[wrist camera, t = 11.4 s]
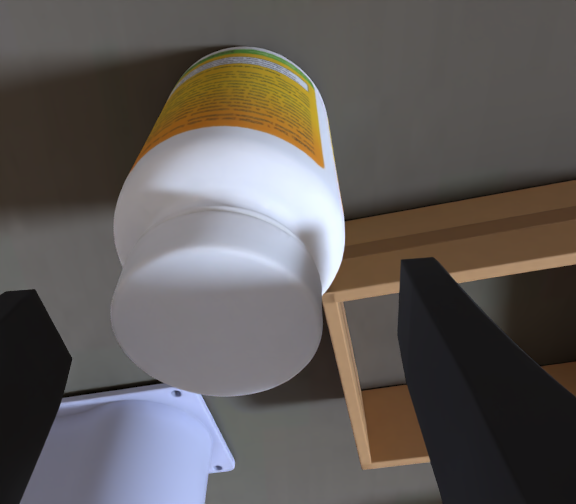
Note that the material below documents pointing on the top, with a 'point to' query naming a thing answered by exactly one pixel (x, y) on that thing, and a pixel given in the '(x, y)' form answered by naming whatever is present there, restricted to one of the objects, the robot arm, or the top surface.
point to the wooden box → (462, 267)
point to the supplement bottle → (229, 228)
